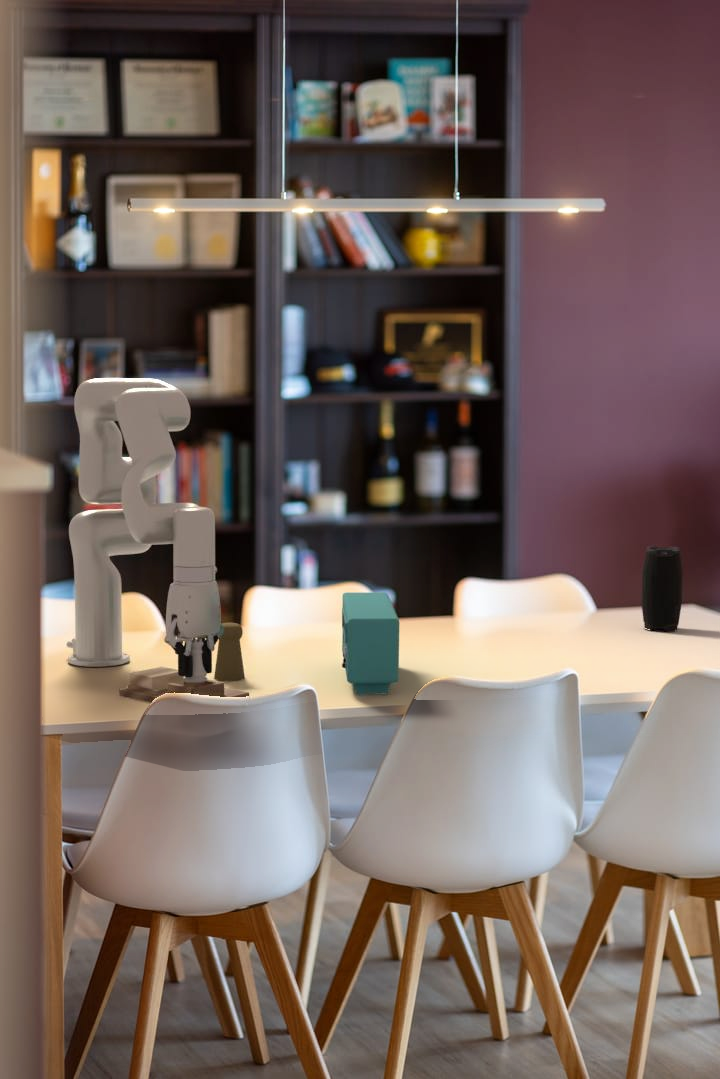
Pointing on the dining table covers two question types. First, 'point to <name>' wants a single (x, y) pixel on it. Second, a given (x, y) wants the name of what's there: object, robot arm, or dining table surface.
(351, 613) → the radio
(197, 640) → the rook chess piece
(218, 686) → the board
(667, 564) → the portable speaker
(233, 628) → the cork
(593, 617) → the dining table surface
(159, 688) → the cream rectangular block
